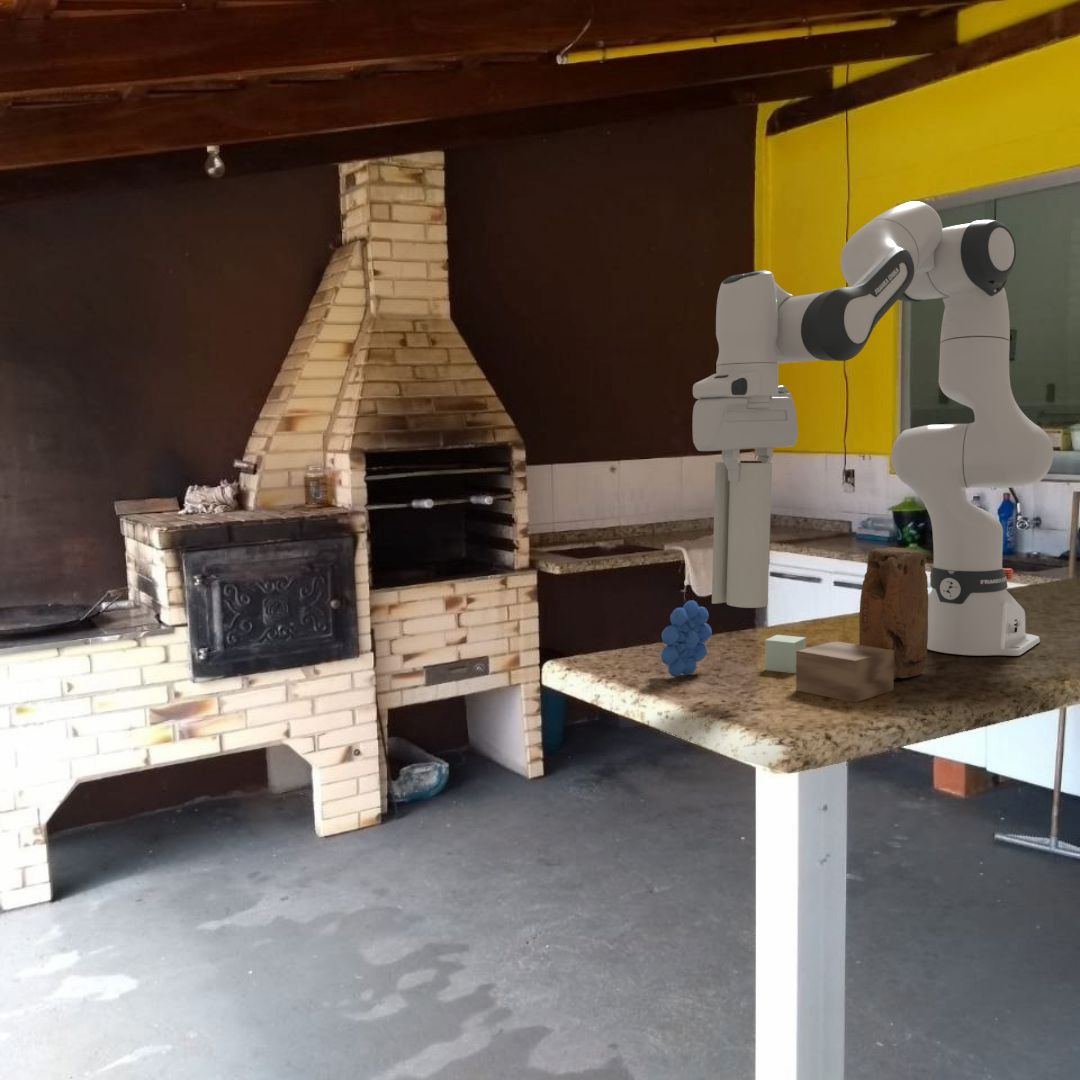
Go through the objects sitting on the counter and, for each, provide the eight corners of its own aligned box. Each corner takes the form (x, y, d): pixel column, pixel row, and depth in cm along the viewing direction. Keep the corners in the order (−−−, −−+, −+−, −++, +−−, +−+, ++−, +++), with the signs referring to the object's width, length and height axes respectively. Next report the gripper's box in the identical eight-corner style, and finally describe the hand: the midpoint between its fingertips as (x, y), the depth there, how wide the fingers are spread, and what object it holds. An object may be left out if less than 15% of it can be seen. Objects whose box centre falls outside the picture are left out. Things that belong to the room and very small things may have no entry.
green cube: (776, 664, 174) (776, 634, 174) (805, 667, 172) (806, 637, 171) (765, 670, 170) (765, 640, 170) (794, 673, 167) (794, 642, 167)
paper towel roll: (775, 605, 156) (779, 461, 153) (754, 610, 151) (759, 462, 149) (732, 600, 160) (736, 459, 158) (711, 604, 156) (715, 460, 153)
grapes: (688, 665, 174) (687, 594, 173) (721, 671, 170) (721, 598, 168) (642, 677, 166) (641, 603, 165) (675, 684, 162) (675, 607, 160)
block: (889, 666, 170) (890, 544, 168) (932, 674, 165) (934, 547, 163) (851, 677, 163) (852, 550, 161) (895, 686, 158) (897, 553, 156)
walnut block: (835, 679, 163) (835, 641, 162) (893, 690, 155) (893, 650, 154) (796, 690, 156) (796, 650, 156) (855, 702, 149) (855, 660, 148)
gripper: (773, 386, 161) (773, 476, 163) (684, 385, 148) (685, 483, 150) (808, 384, 157) (808, 477, 158) (719, 383, 143) (720, 484, 145)
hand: (747, 480), depth 154 cm, fingers closed on paper towel roll, 4 cm apart
